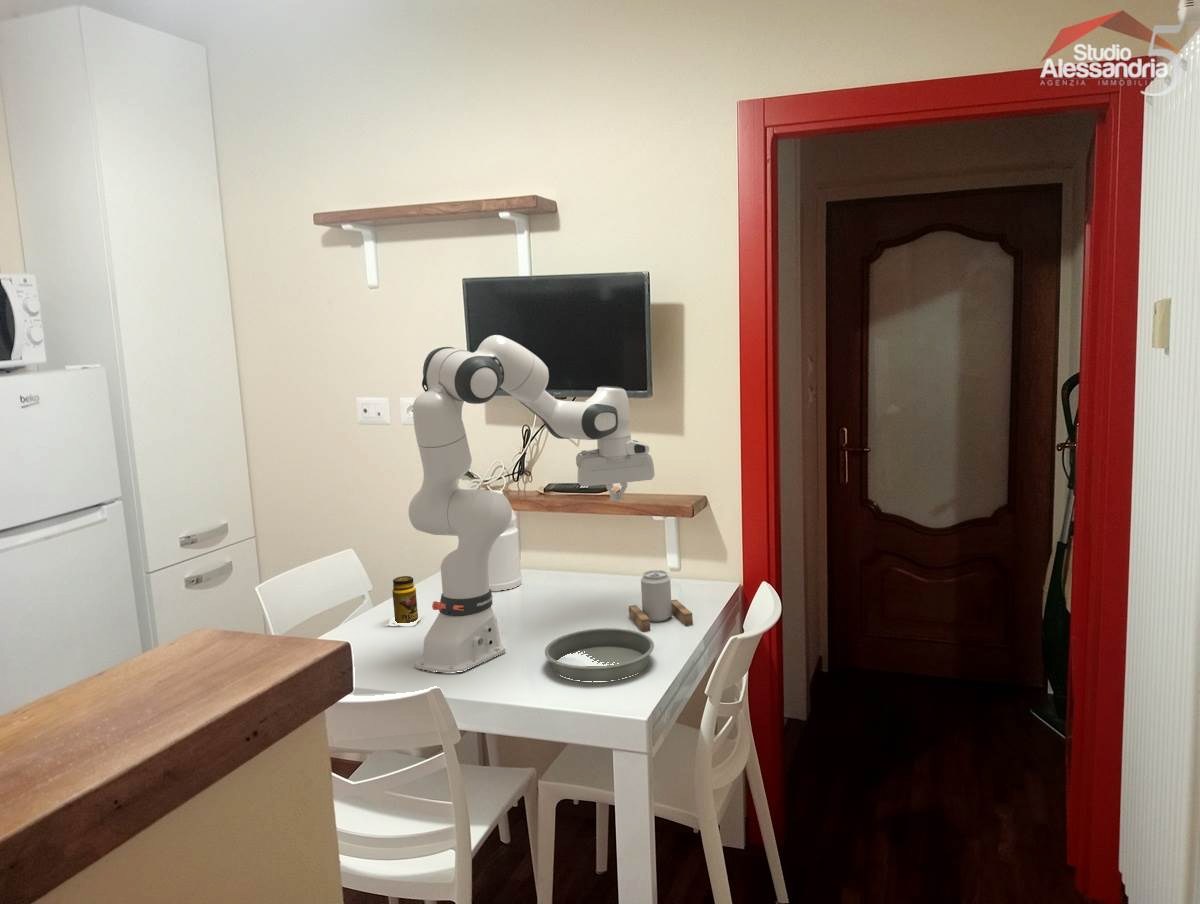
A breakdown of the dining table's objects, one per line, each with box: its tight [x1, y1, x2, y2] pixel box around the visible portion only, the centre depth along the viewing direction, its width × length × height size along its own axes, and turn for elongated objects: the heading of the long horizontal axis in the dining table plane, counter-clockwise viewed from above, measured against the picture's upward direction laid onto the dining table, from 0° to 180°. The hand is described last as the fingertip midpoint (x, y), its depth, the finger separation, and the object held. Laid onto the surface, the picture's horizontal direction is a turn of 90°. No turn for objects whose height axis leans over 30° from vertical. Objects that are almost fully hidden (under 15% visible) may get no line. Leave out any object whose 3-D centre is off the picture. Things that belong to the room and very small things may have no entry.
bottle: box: [488, 489, 522, 592], centre depth 276 cm, size 14×14×28 cm
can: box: [640, 569, 673, 623], centre depth 241 cm, size 8×8×12 cm
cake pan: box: [544, 627, 655, 682], centre depth 212 cm, size 25×25×4 cm
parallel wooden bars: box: [628, 599, 694, 633], centre depth 239 cm, size 12×13×3 cm
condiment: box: [391, 575, 419, 623], centre depth 249 cm, size 7×8×12 cm
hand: (617, 499), depth 248 cm, fingers closed
